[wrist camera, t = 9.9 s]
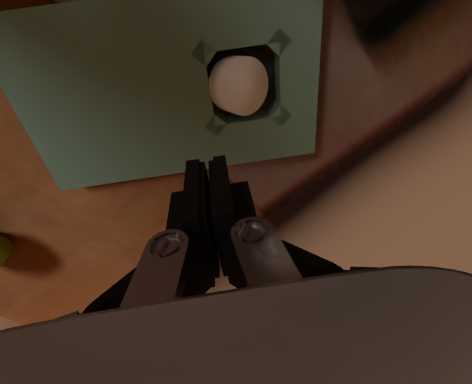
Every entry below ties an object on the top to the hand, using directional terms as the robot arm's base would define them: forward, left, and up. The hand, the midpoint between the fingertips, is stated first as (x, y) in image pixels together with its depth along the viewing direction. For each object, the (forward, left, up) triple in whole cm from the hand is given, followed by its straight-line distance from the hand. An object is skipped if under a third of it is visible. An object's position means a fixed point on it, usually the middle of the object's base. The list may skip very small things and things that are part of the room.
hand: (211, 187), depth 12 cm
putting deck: (0, -3, -19) cm, 19 cm away
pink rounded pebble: (0, +2, -17) cm, 18 cm away
